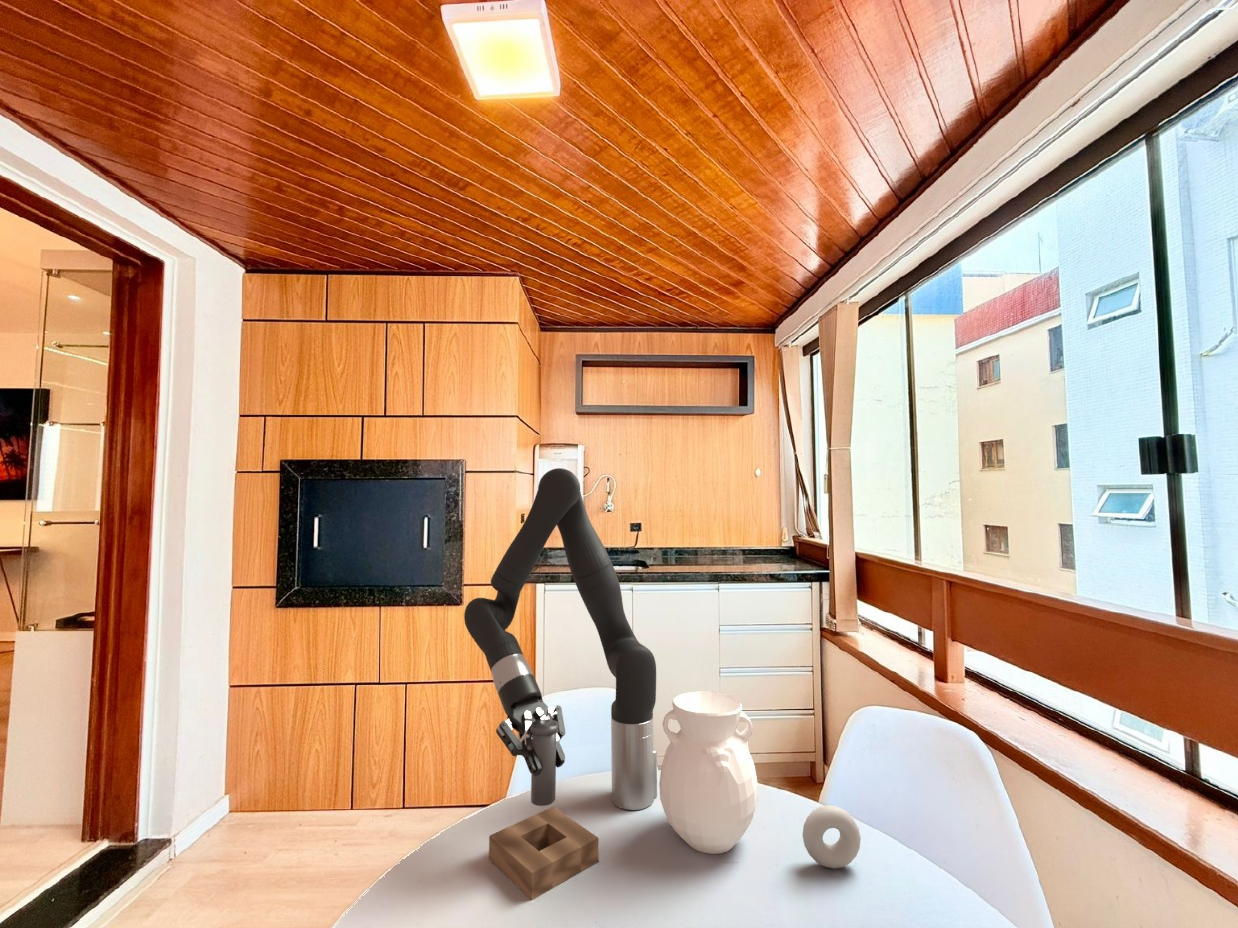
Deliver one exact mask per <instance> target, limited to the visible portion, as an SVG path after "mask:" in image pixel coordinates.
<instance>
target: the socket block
mask: <svg viewBox="0 0 1238 928" xmlns="http://www.w3.org/2000/svg"><path fill="white" fill-rule="evenodd" d="M488 837H489V838H488V842H489V843H488V860H489V861H490V862H491V863H492V864H493V865H495V867H496V868H497V869H499V870H500V872H501V873H503V874H504V875H505V876H506V877H507V878H508V879H509V880H510V881H511V882H512V883H513V884H514V885H515V886H517V887H518V889H519V890H520V891H522V893H524V894H525V895H526V896H527V897H528V898H529V899H530V900H531V901H533V900H535V899H536V898H538V897H540V896H541V895H543V894H546V892H549V891H550V890H552V889H554V888H556V887H557V886H559V885H561V884H562V883H564V882H565V881H567V880H569V879H571V878H572V877H574V876H576V875H578V874H580V873H581V872H583V871H585V870H586V869H588V868H590V867H591V866H593V865H595V864H597V863H599V861H600V859H599V857H600V856H599V851H600V850H599V849H600V847H599V836H597V835H595V834H594V833H592V832H591V831H589V829H586V828H585V827H584V826H583V825H580V824H579V823H577V822H576V821H575V820H573V819H572V818H570V817H569V816H567V815H566V814H565V813H563V812H561V811H560V810H559V809H557V808H556V807H554V806H552V807H550V808H547V809H545V810H542V811H541V812H538V813H536V814H533V815H532V816H530V817H527V818H524V819H523V820H520V821H518V822H515V823H514V824H512V825H509V826H507V827H505V828H503V829H500V830H498V831H496V832H494V833H491V834H489V835H488Z"/></svg>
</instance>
